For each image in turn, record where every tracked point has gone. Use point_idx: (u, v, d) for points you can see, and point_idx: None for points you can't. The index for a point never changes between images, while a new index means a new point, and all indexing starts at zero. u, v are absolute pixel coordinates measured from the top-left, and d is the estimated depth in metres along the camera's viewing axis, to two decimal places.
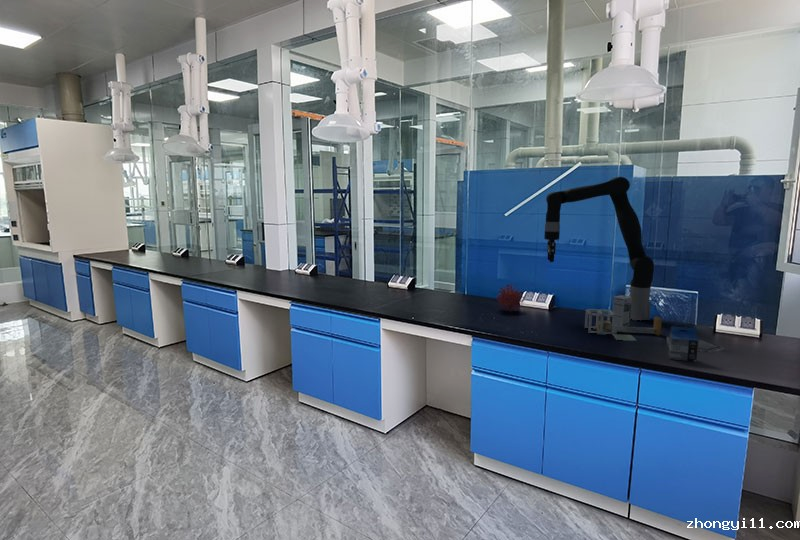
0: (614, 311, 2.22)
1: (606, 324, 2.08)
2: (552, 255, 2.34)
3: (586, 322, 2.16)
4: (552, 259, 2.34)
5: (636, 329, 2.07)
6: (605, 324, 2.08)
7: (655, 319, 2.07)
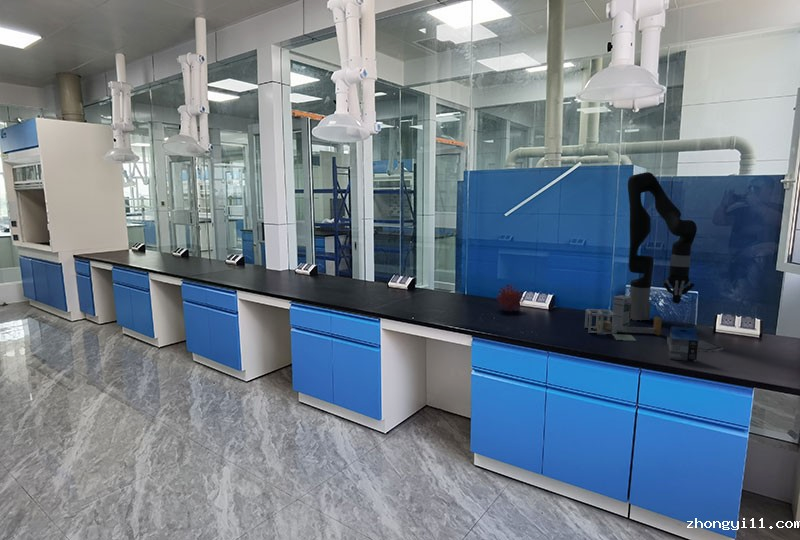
0: (614, 311, 2.22)
1: (606, 324, 2.08)
2: None
3: (586, 322, 2.16)
4: None
5: (636, 329, 2.07)
6: (605, 324, 2.08)
7: (655, 319, 2.07)
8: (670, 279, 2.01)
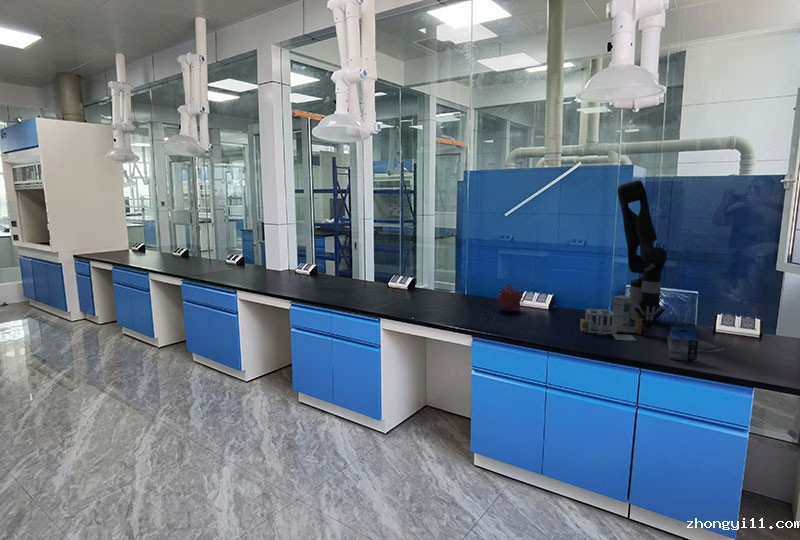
0: (614, 311, 2.22)
1: None
2: (651, 320, 2.07)
3: None
4: None
5: (617, 328, 2.09)
6: (588, 323, 2.10)
7: (636, 318, 2.08)
8: (641, 305, 2.05)
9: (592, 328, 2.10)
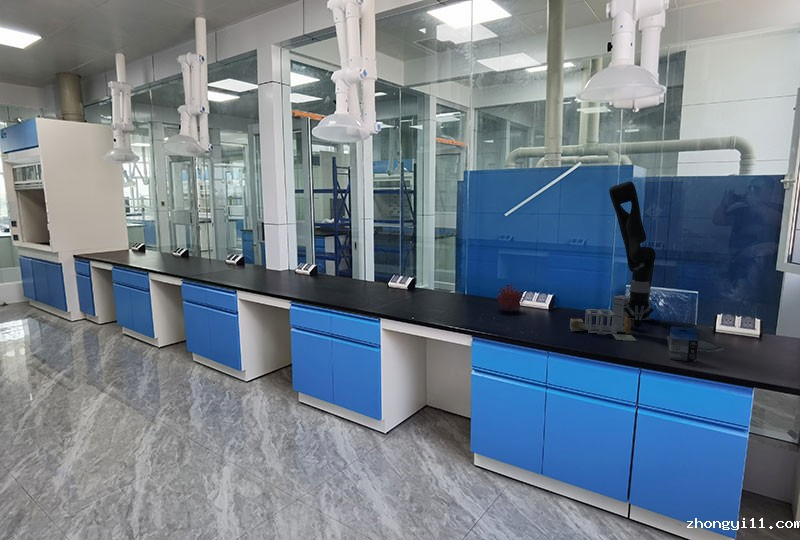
0: (614, 311, 2.22)
1: (578, 322, 2.11)
2: (640, 319, 2.08)
3: (586, 322, 2.16)
4: None
5: (606, 327, 2.10)
6: (577, 323, 2.11)
7: (625, 317, 2.09)
8: (630, 304, 2.06)
9: (581, 328, 2.11)
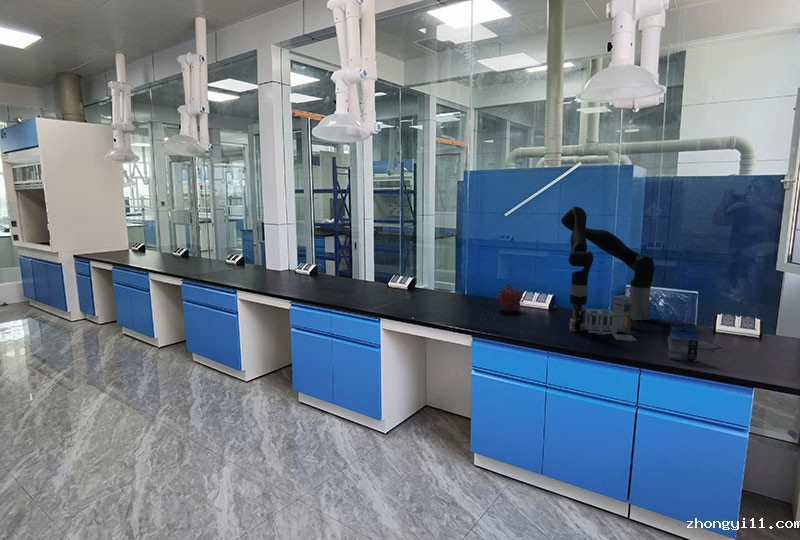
0: (614, 311, 2.22)
1: None
2: (575, 319, 2.17)
3: (586, 322, 2.16)
4: None
5: (606, 327, 2.10)
6: None
7: (625, 317, 2.09)
8: (581, 308, 2.09)
9: (581, 327, 2.11)
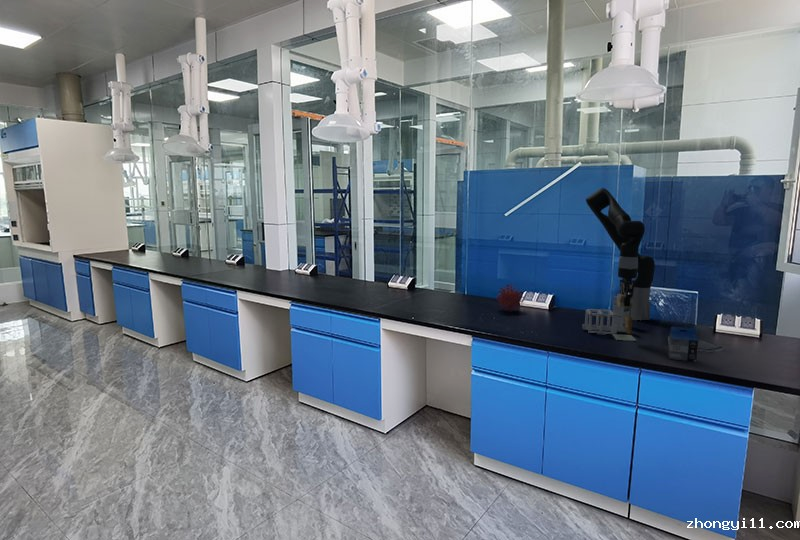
0: (614, 311, 2.22)
1: None
2: None
3: (586, 322, 2.16)
4: None
5: (607, 327, 2.10)
6: None
7: (626, 318, 2.09)
8: (631, 282, 1.94)
9: (631, 303, 1.96)
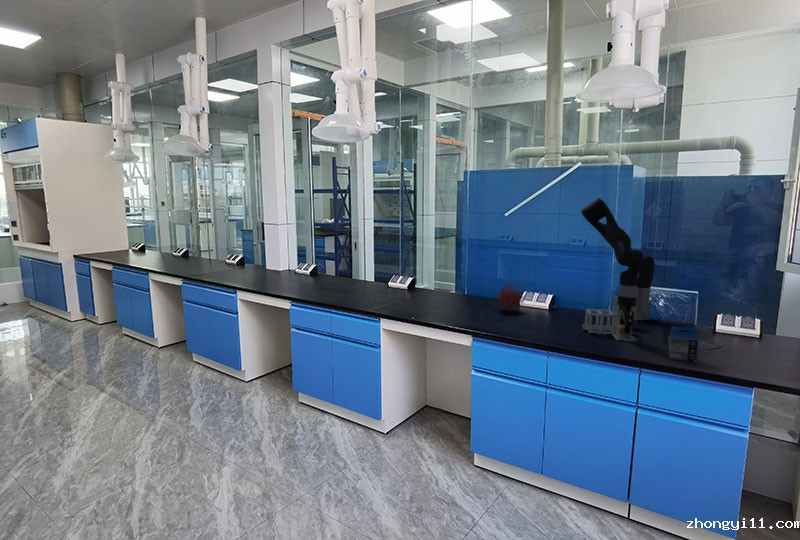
0: (614, 311, 2.22)
1: None
2: None
3: (586, 322, 2.16)
4: (621, 324, 2.05)
5: (607, 327, 2.10)
6: None
7: None
8: (631, 310, 1.96)
9: (630, 334, 1.98)
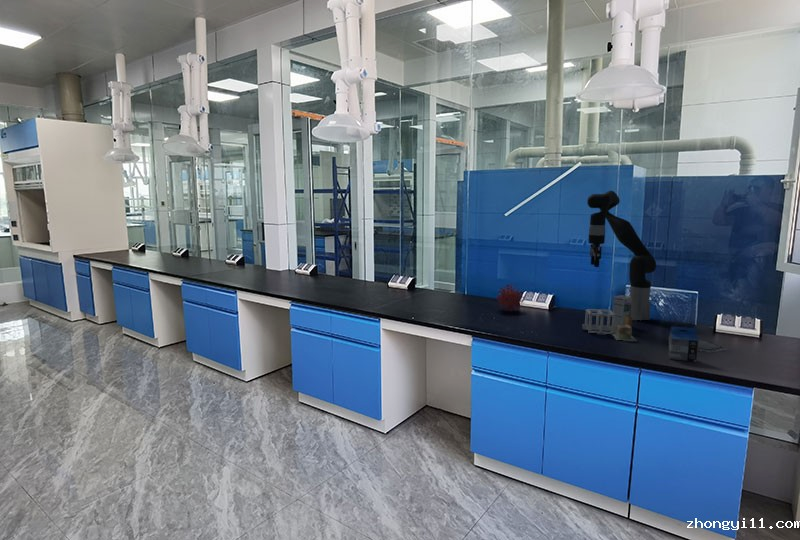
0: (614, 311, 2.22)
1: (626, 329, 1.98)
2: None
3: (586, 322, 2.16)
4: None
5: (607, 327, 2.10)
6: (625, 329, 1.98)
7: (626, 318, 2.09)
8: (599, 246, 2.25)
9: (630, 334, 1.98)
